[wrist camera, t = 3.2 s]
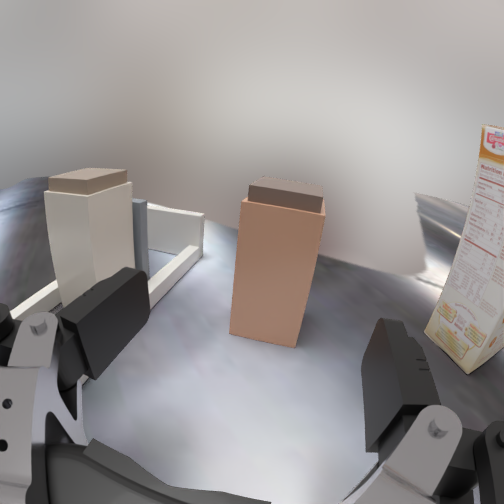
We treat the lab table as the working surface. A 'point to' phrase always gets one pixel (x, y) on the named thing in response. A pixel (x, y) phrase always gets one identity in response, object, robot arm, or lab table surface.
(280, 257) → the terracotta canister
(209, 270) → the lab table surface
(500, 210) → the coffeecake box
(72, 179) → the cream canister
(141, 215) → the pusher plate
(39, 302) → the lane
